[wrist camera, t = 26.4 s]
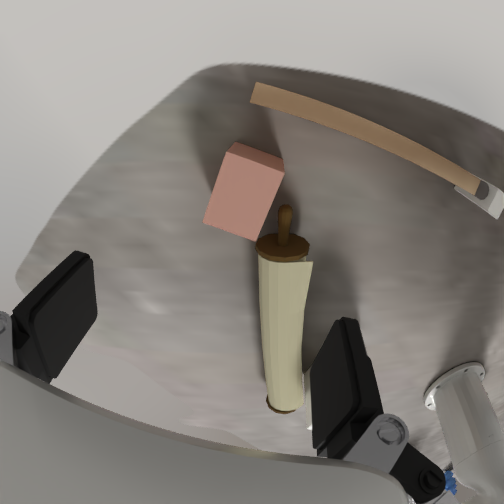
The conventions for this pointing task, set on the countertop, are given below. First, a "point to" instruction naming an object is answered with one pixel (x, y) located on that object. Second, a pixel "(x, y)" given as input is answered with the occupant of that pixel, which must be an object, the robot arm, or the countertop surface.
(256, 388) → the countertop surface
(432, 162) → the door
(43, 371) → the robot arm
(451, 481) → the grapes
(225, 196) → the block
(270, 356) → the rolling pin
